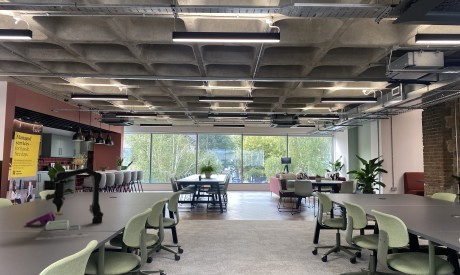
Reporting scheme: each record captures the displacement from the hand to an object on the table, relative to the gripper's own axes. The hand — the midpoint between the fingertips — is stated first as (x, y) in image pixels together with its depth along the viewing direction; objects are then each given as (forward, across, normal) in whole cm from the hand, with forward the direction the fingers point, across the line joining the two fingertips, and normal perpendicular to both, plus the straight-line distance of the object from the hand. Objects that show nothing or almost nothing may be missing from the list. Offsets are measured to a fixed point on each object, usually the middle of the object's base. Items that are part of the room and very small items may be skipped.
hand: (58, 211), depth 226 cm
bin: (+12, 0, 0) cm, 12 cm away
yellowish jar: (+2, 0, 0) cm, 2 cm away
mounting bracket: (+13, -22, -14) cm, 29 cm away
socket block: (+12, +8, +11) cm, 18 cm away
